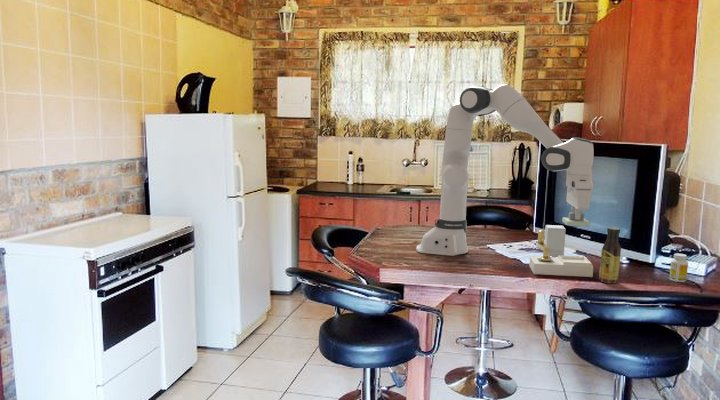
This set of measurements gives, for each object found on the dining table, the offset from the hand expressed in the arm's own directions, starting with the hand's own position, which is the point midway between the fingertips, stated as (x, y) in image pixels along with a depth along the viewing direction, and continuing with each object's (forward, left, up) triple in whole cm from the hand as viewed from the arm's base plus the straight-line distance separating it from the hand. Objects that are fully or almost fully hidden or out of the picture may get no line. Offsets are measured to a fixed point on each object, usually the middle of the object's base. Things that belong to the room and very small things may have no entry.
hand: (575, 218), depth 205 cm
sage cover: (0, 0, -2) cm, 2 cm away
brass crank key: (-10, +3, -17) cm, 20 cm away
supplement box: (-2, +25, -21) cm, 33 cm away
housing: (-4, 0, -21) cm, 21 cm away
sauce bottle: (+10, -11, -21) cm, 26 cm away
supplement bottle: (+36, -4, -21) cm, 42 cm away
